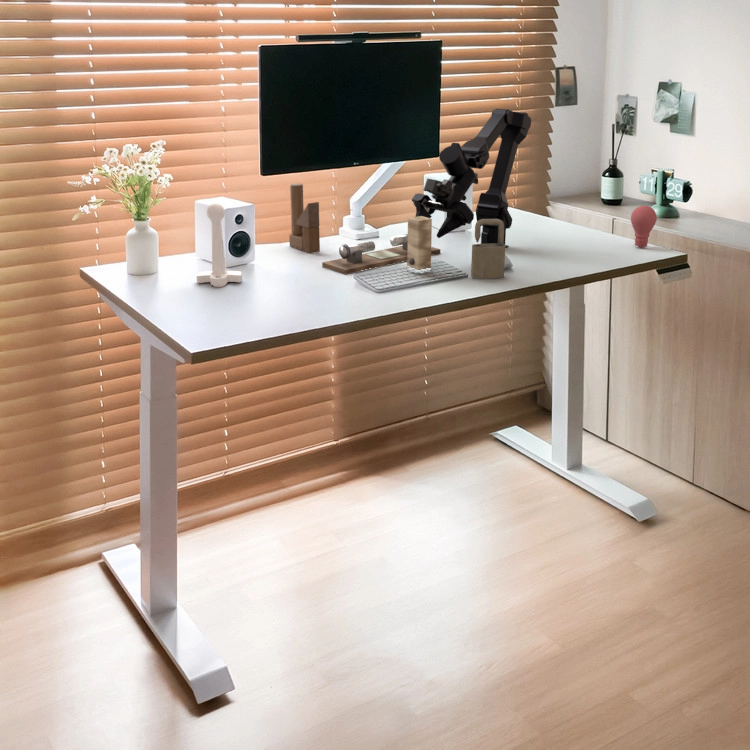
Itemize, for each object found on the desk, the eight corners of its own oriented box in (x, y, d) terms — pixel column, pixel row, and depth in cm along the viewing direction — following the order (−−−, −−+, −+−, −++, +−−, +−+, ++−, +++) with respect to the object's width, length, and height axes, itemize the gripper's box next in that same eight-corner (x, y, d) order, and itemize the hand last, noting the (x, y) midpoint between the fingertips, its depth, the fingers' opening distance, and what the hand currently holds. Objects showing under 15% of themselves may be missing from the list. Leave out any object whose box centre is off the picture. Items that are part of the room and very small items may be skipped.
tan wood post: (421, 268, 260) (422, 215, 255) (432, 271, 256) (433, 218, 251) (406, 270, 257) (406, 218, 252) (416, 274, 253) (417, 221, 248)
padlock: (470, 275, 253) (472, 217, 248) (501, 274, 254) (504, 217, 248) (473, 279, 249) (475, 221, 244) (504, 278, 250) (507, 220, 244)
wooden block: (309, 253, 274) (307, 189, 268) (289, 246, 282) (287, 183, 276) (320, 251, 276) (319, 188, 270) (299, 244, 284) (298, 182, 278)
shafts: (415, 246, 277) (415, 228, 275) (424, 248, 274) (424, 230, 272) (338, 262, 260) (338, 243, 258) (347, 265, 257) (347, 246, 255)
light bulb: (643, 243, 284) (648, 202, 280) (658, 249, 278) (663, 207, 274) (623, 245, 282) (626, 204, 278) (637, 251, 276) (641, 209, 272)
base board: (416, 246, 281) (416, 241, 281) (440, 253, 274) (440, 248, 274) (322, 266, 261) (322, 261, 260) (345, 274, 254) (345, 268, 253)
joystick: (242, 278, 250) (238, 201, 243) (240, 287, 243) (236, 207, 236) (198, 279, 249) (193, 201, 242) (195, 287, 242) (189, 207, 235)
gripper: (417, 162, 258) (385, 209, 255) (467, 171, 245) (434, 221, 242) (438, 189, 266) (407, 234, 263) (488, 199, 252) (456, 247, 250)
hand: (425, 233), depth 254 cm, fingers open, 9 cm apart
